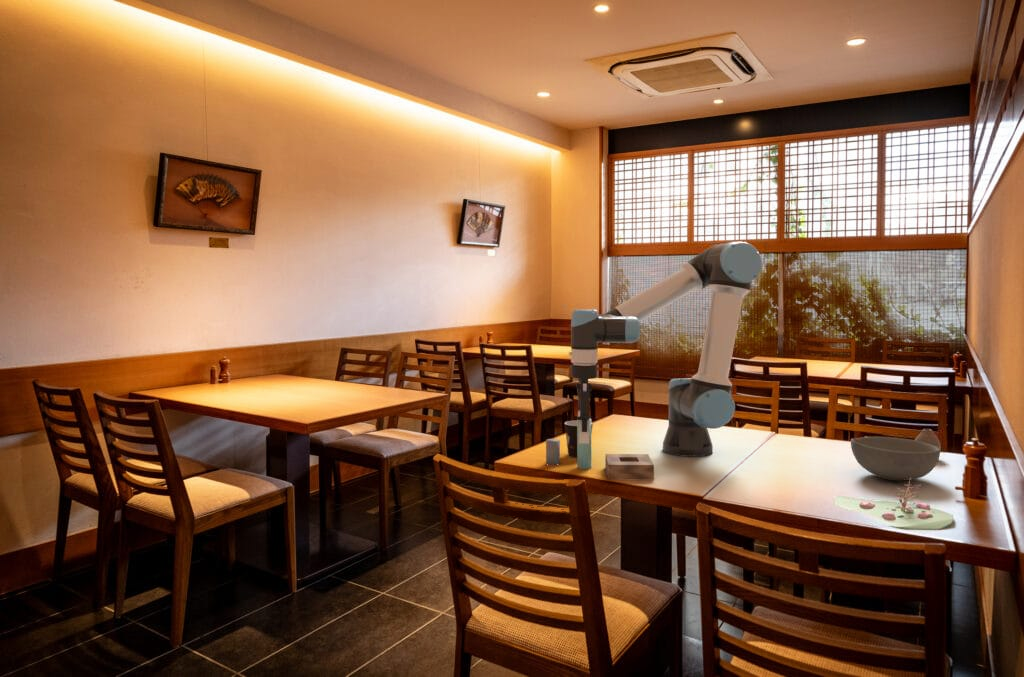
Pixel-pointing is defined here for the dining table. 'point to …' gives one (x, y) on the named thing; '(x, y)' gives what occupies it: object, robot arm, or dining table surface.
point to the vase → (928, 438)
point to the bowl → (895, 457)
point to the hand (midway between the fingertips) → (583, 438)
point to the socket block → (629, 466)
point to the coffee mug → (572, 437)
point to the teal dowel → (584, 450)
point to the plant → (899, 512)
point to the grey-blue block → (552, 451)
